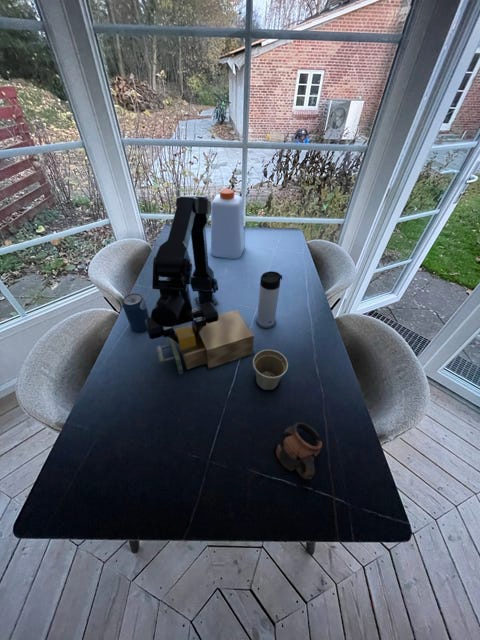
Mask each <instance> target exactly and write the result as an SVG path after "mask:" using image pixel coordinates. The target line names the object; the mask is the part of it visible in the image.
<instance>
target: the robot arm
mask: <svg viewBox="0 0 480 640" xmlns="http://www.w3.org/2000/svg"><path fill="white" fill-rule="evenodd" d="M211 203H212V200H210V199H209V198H208V197H207V195H193V194H185V195H180V196H177V197H176V199H175V211H174V215H173V219H172V223H171V226H170V230H169V234H168V237H167V240H166V241H164V242H163V243H162V244H161V245H159V247H158V249H157V252H156V255H155V256H154V257H153V259H152V260H153V261H152V284H151V285H152V286H151V289H152V290H159V294H157V296H158V299H157V300H156V302H155V304H154V306H153V308H152V310H151V312H150V318H146V320H145V324H146V328H147V329H146V331H147V335H148V338H149V339H150V340H154V339H158V338H162V337H164V338H168V337H169V338H171V339H173V340H174V342H175V344H177V345H179V341H178V338H177V335H176V331H175V328H174V327H177V326H181V325H184V324H187V323H191V328H192V330H193V332H194V335H195V339H196V337H197V335H198V334H199V332H200V331H201V329H202V328H203V327H204V326H206V325H207V324H206V323H212V322H215V321H218V319H219V318H218V315H219V312H218V310H217V308H216V307H215V306H216V305H218V302H217V300H216V299H215V297H214V294H216V292H217V291H219V284H218V283H219V282H218V279H217V278H216V277H215V272H214V270H213V269H212V267H210V266H209V256H208V255H209V254H208V244H207V242H208V241H207V231H206V230H207V229H206V225H207V223H208V222H209V219H210V217H211ZM190 238H191V247H192V255H193V262H194V269H193V263H192V259H191V257H190V254H189V251H188V248H189V243H190ZM160 278H166V279H164V280H163V279H160ZM189 285H190V287H191V291H192V292H197V296H196V298H195V299H196V302H197V303H198V307H197V308H196V307H195V308H193V306H192V299H191V293H190V287H189Z"/></svg>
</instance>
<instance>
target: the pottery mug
mask: <svg viewBox="0 0 480 640" xmlns="http://www.w3.org/2000/svg"><path fill="white" fill-rule="evenodd" d="M297 428H298V429H300V430H303V431H304V432H305V433H306V434H308V435H309V436H310V438H311V439H312V440H313V443H314V445H312V444H310V443H308V442H306V441H305V440H304V439H303V438H302V437H301V436H300V434H299V432H298V430H297ZM283 434H284V435H288V434H289V435H288V436H286V437H285V438H284V439H283V445H281V444H278V445H277V447H276V449H275V453H276V457H277V459H278V461H279V462H280V464H281V465H282V466H283V468H285V469H286V470H288V471H290V472H293V471H296V472H297V473H298V474H299V476H300V477H301V478H302V479H303V480H311V479H313V477H314V475H315V474H316V473H315V472H316V468H315V464H314V462H315V457H317V456H318V455H319V454H320V452H321V449H322V447H323V442H322V441H321V440H318V439H319V437H320V435H319V433H318V432H317V431H316V430H315V429H314V427H312V426H310V425H308V424H307V423H304V422H301V421H297V422H295V423H293V425H290V426H289V427H288V428H286V429H284V432H283ZM298 458H299V459H298Z"/></svg>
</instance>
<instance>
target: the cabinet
mask: <svg viewBox="0 0 480 640" xmlns="http://www.w3.org/2000/svg"><path fill="white" fill-rule="evenodd" d="M218 318H219V319H218V321H215V322H212V323H206V324H207V325H206V326H204V327H203V328H202V329H201V331H200V332H199V335H200V337H201V340H202V342H203V344H204V346H205V349H206V353H207V362H208V363H206V366H207V368H208V369H212V368H215V367H218V366H221V365H224V364H226V363H230V362H233V361H237V360H239V359H242V358H245V357H249V356H252V355H253V352H254V340H255V335H254V333H253V332H252V330H251V328H250V327H249V325H248V324H247V322H246V321H245V319H244V318H243V315H242V314H241V313H240V312H239V310H238V309H235V310H230V311H227V312H223V313H220V314H219V313H218Z"/></svg>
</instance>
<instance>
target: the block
mask: <svg viewBox="0 0 480 640" xmlns="http://www.w3.org/2000/svg"><path fill="white" fill-rule="evenodd" d="M174 331H175V333H176V335H177V338H178V341H179V344H178V347H179V346H180V348H179V350H180V349H181V350H184V349H187V348H191V347H194V346H196V340H195V335H194V332H193V330H192V324H189V325H185V326H181V327H178V328H174Z"/></svg>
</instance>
